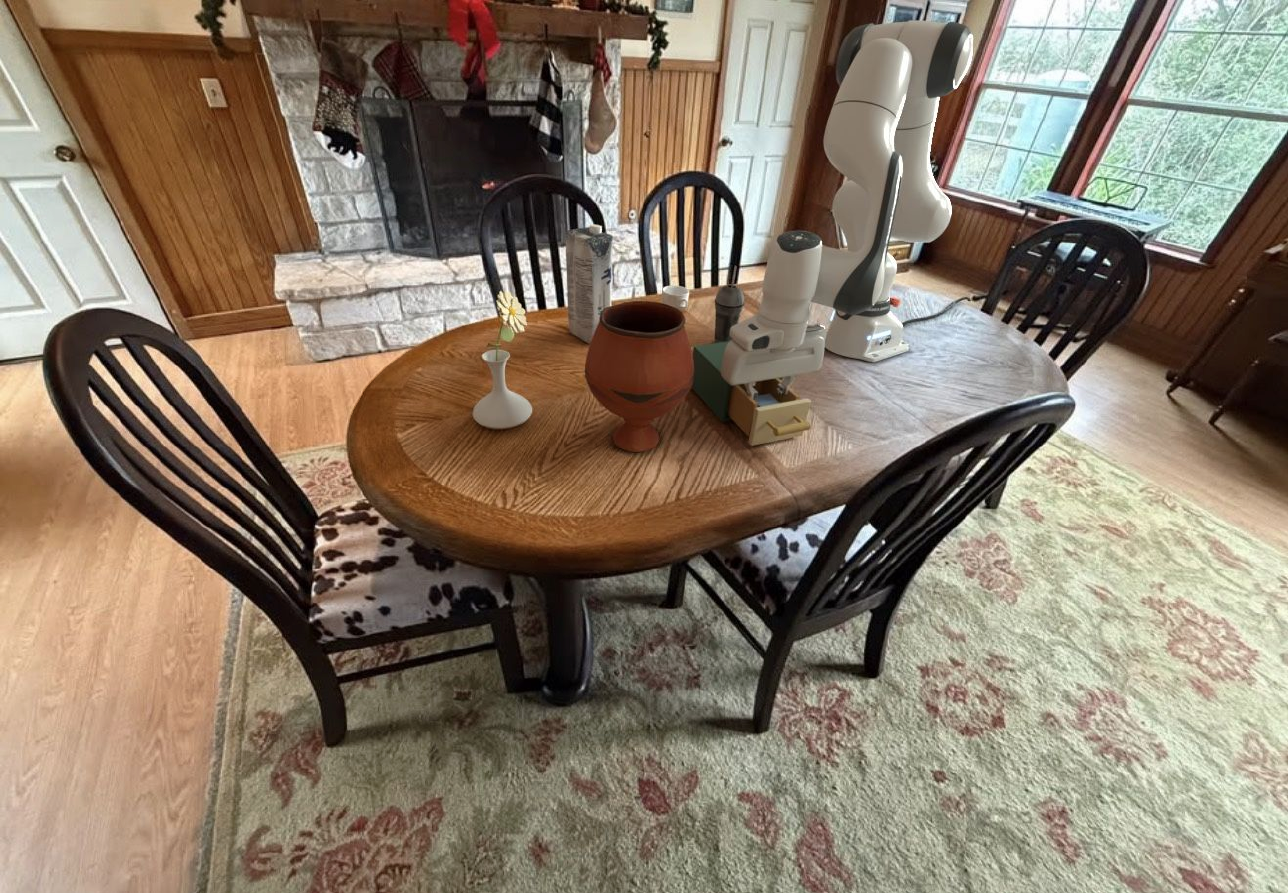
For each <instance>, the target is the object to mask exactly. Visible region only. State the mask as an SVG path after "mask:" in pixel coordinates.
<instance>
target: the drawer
mask: <svg viewBox="0 0 1288 893" xmlns="http://www.w3.org/2000/svg"><path fill="white" fill-rule="evenodd" d="M782 381H783V380H782ZM782 381H781V380H780V379H779V378H775V379H769V380H763V381H757V382H756V383H755V386H752V387H753V388H754V389H755V390H756V391H757V392H758V396H759V395H764V394H770V395H771V396H772V397H774V398H775V399H776V400H777V401H778V402H779V404H774V405H768V406H763V407H758V403H757V402H756V401H755V400H754V399H753V398H751V397H750V396H749V395H748V394H747V393H746V392H747V389H746V387H745V385H744V384H739V385H731V390H730V397H729V403H728V409H727V414H728V415H729V417H730V418H731V419H732V420H731V421H733V422H734V423H735V424H736V425H737V426H738V427H739V429H740V430H741V431H742V432H743V433H744V435H746V436H747V438H748V437H749V438H748V445H750V446H751V447H754V446H759V445H763V444H768V443H772V442H777V441H782V440H787V439H793V438H796V437H801V436H803V434H804V432H805V431H809V430H811V423H810V422H809V421H807V418H808V414H809V410H810V407H811V404H812V402H811V400H810V399H809V398H802V399H800V398H801V397H800V395H799V394H797V393H796V391H794V390H793V389H792V388H791V387H789V389H788V393H787V394H785V395H779V394H778V393H777V392H776V389H777V384H780V383H781V382H782Z"/></svg>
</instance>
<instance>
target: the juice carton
mask: <svg viewBox="0 0 1288 893" xmlns="http://www.w3.org/2000/svg"><path fill="white" fill-rule="evenodd" d="M602 231H603V226H602V225H600V224H590V225H589V226H587V227H579V228H574V229H567V230H565V231H564V239H565V240H564V241H565V261H566V262H565V263H566V264H565V265H566V266H565V267H566V292H567V294H566V296H567V297H566V298H567V316H568V317H567V319H568V320H567V321H568V330H569V333H571V335H573V336H575V337H577V338H579V339H580V340H581V341H583V342H584V343H586V344H589V345H590V343H591V340H592V338H593V335H594V333H595V330H596V328H597V325H598V323H599V321H600V319H599V318H600V314H601V312H602V311H603V309H604V308H607V307H609V306H612V286H613V285H612V284H613V282H612V278H613V241H614V236H613V235H612V234H610V233H607V232H602Z"/></svg>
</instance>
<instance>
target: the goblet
mask: <svg viewBox="0 0 1288 893" xmlns="http://www.w3.org/2000/svg"><path fill="white" fill-rule="evenodd" d="M599 319H600V321H599V323H598V325H597V328H596V330H595V333H594V335H593V338H592V340H591V343H589V346H588V350H587V354H586V357H585V358H586V359H585V363H584V364H585V365H584V374H585V375H584V376H585V380H586V383H587V386H588V388H589V391H590V393H591V394H592V396H593V397H594V398H595V399H596V401H597V402H598V403H599V404H600V406H602V407H604V408H605V409H606V410H607V411H609V412H610V413H612V414H613V415H615V416H617V417H619V418H621V419H622V420H623V421H624V422H623V423H622V424H621V425H620V426H618V427H617V429H616V430H615V431H614V433H613V436H612V440H613V443H614V445H616V446H617V447H618V448H620V449H622V450H624V451H628V452H632V453H642V452H647V451H649V450H651V449H653V448H655V447H656V446H657V445H658V443H659V441H660V435H659V433H658V431H657V429H656V428H655V427H654V426H653V425H652V424H653V423H654V422H655V420H656V419H658V418H661V417H663V416H664V415H666V414H668V413H669V412H671V411H673V410H674V409H676V408H677V407H678V406H679V405H680V404H681V403H682V402H683V401H684V400H685V398H686V397H687V395H688V394H689V392H690V390H691V389H692V387H691V386H692V383H693V377H694V361H693V350H692V348H691V343H690V341H689V337H688V334H687V331H686V328H685V325H686V317H685V314H684V313H683V312H682V310H679V309H677V308H675V307H672V306H669V305H667V304H663V303H662V302H658V301H647V300H645V301H644V300H634V301H625V302H621V303H619V304H615V305H611V306H609V307H607V308H604V309H603V311H602V312H601V314H600V318H599Z"/></svg>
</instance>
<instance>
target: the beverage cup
mask: <svg viewBox="0 0 1288 893" xmlns="http://www.w3.org/2000/svg"><path fill="white" fill-rule="evenodd" d="M737 268H738V266H737V265H734V268H733V274H732V279H731V284H726V285H723V286H722V287H721V288H720V289H719V290H718V292H717V293H716V295H715V299H714V309H715V316H714V317H715V319H714V343H721V342H728V341H731V340H732V338H731V337H730V328H731V327H732V326H734V325H736V324H738V323H739V322H740V317H741V313H742V312H743V309H744V306H745V296H744V292H743V290H742V289H741V288H740V287H739V286H737V285H735V279H736V273H737Z"/></svg>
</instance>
